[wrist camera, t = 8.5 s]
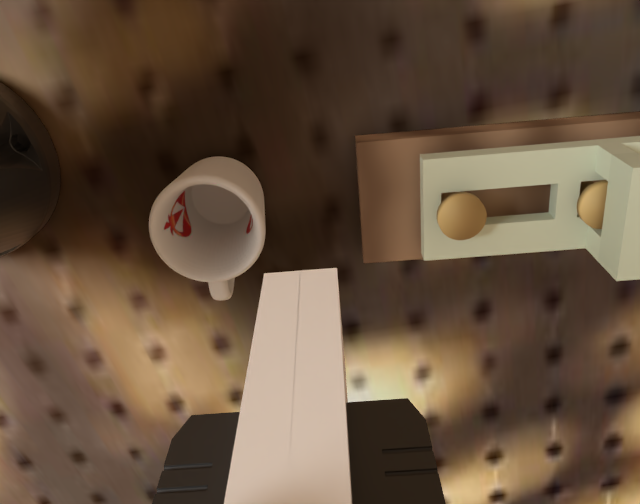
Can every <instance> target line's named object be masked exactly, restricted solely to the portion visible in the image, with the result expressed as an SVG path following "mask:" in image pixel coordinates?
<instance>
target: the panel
mask: <svg viewBox="0 0 640 504" xmlns="http://www.w3.org/2000/svg"><path fill="white" fill-rule="evenodd" d="M595 180H607V181H608V186H607V194H606V202H605V209H604V217H603V225H602V229H595V228H592V227H590V226H588V225H587V224H586V223H585V222H584V221H583V220H582V219H581V218H580V217H579V215H578V213H577V201H578V198H579V194H580V185H581V182H583V181H595ZM546 184H551V189H550V201H549V212H545V213H533V214H520V215H508V216H495V217H487V218H486V223H485V225H484V227H483V229H482V230H481V231H480V232H479V233H478V234H477V235H475V236H474V237H472V238H470V239H466V240H454V239H451V238H449V237H447V236H446V235H445V234H444V233H443V232H442V231H441V229H440V227H439V225H438V222H437V210H438V207H439V205H440V204H441V193H448V192H460V191H472V190H484V189H497V188H509V187H521V186H533V185H546ZM420 202H421V254H422V256H423V259H424V261H428V260H441V259H454V258H467V257H480V256H492V255H505V254H518V253H531V252H544V251H557V250H570V249H583V248H586V249H587V250H588V251H589V252H590V254H591V255H592V256H593V257H594V258H595V259H596V260H597V261H598V262H599V263H600V264H601V265H602V266H603V267H604V268H605V270H606V271H607V272H608V273H609V274H610V275H611V276H612V277H613V278H614V279H615V280H616V281H624V280H638V279H640V136H631V137H620V138H608V139H596V140H584V141H572V142H560V143H548V144H536V145H524V146H512V147H500V148H489V149H477V150H465V151H453V152H441V153H429V154H420Z"/></svg>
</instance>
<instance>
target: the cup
mask: <svg viewBox="0 0 640 504" xmlns="http://www.w3.org/2000/svg"><path fill="white" fill-rule="evenodd" d="M149 234H150V238H151V241H152V244H153V246H154V248H155V250H156V252H157V253H158V255H159V256H160V258H161V259H162V260H163V261H164V262H165V263H166V264H167V265H168V266H169V267H170V268H171V269H173V270H174V271H176V272H177V273H179V274H181V275H183V276H185V277H187V278H190V279H193V280H196V281H202V282H208V285H209V290H210V293H211V296H212V298H213V299H215V300H221V301H222V300H228V299H230V298H231V296H232V294H233V289H234V281H235V277H237V276H239V275H241V274H242V273H244V272H245V271H247V270H248V269H249V268H250V267H251V266H252V265H253V264H254V263H255V262H256V260H257V259H258V257H259V255H260V253H261V251H262V249H263V246H264V241H265V234H266V229H265V206H264V194H263V190H262V187H261V184H260V182H259V180H258V178H257V177H256V175H255V174H254V173H253V172H252V170H251V169H249V168H248V167H247V166H246V165H245V164H243V163H241V162H239V161H237V160H235V159H232V158H229V157H221V156H216V157H209V158H205V159H202V160H200V161H198V162H196V163H194V164H193V165H191V166H190V167H189V168H188V169H186V170H185V171H184V172H183V173H182V174H181V175H179V176H178V177H177V178H176V179H175V180H174V181H173V182H171V183H170V184H169V185H168V186H167V187H166V188H164V189H163V190H162V192H161V193H160V194H159V195H158V197H157V198H156V200H155V201H154V203H153V206H152V208H151V211H150V216H149Z"/></svg>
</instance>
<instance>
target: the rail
mask: <svg viewBox="0 0 640 504" xmlns="http://www.w3.org/2000/svg"><path fill="white" fill-rule="evenodd" d="M631 136H640V111H639V112H628V113H616V114H604V115H592V116H581V117H569V118H557V119H546V120H534V121H522V122H511V123H499V124H487V125H475V126H464V127H452V128H440V129H429V130H417V131H405V132H393V133H382V134H370V135H358V136H355V143H356V159H357V175H358V191H359V207H360V223H361V239H362V254H363V261H364V263H376V262H389V261H402V260H414V259H423V256H422V254H421V202H420V154H429V153H441V152H453V151H465V150H477V149H489V148H500V147H512V146H524V145H536V144H548V143H560V142H572V141H584V140H596V139H608V138H620V137H631ZM607 186H608V181H607V180H595V181H583V182H581V185H580V194H579V198H578V201H577V213H578V215H579V217H580V218H581V219H582V220H583V221H584V222H585V223H586V224H587V225H588V226H590V227H592V228H595V229H602V225H603V217H604V209H605V202H606V194H607ZM550 189H551V184H546V185H533V186H521V187H509V188H497V189H484V190H472V191H460V192H448V193H441V204H440V205H439V207H438V210H437V222H438V225H439V227H440V229H441V231H442V232H443V233H444V234H445V235H446V236H447V237H449V238H451V239H454V240H466V239H470V238H472V237H474V236H475V235H477V234H478V233H479V232H480V231H481V230H482V229H483V227H484V225H485V223H486V218H487V217H495V216H508V215H520V214H533V213H545V212H549V201H550Z"/></svg>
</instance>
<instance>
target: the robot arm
mask: <svg viewBox="0 0 640 504" xmlns="http://www.w3.org/2000/svg"><path fill="white" fill-rule="evenodd" d="M59 192H60V167H59V161H58V157H57V154H56V151H55V147H54V145H53V143H52V140H51V138H50V136H49V134H48V132H47V130H46V129H45V127H44V125H43V124H42V122H41V121H40V119H39V118H38V117H37V115H36V114H35V113H34V111H33V110H32V109H31V108H30V107H29V106H28V105H27V104H26V103H25V102H24V101H23V100H22V99H21V98H20V97H19V96H18V95H17V94H16V93H14V92H13V91H12V90H11V89H9V88H8V87H7V86H5V85H4V84H2V83H1V82H0V257H1V256H4V255H6V254H8V253H11V252H12V251H14V250H16V249H18V248H20V247H21V246H23V245H24V244H25V243H26V242H28V241H29V240H30V239H31V238H32V237H33V236H34V235H35V234H36V233H37V232H39V231H40V230H41V229H42V228H43V226H44V225H45V224H46V223H47V221H48V220H49V219H50V217H51V215H52V213H53V211H54V209H55V207H56V204H57V201H58V197H59ZM152 504H445V500H444V495H443V491H442V487H441V483H440V478H439V474H438V472H437V466H436V461H435V457H434V453H433V451H432V444H431V440H430V436H429V432H428V427H427V423H426V420H425V418H424V417H423V416H422V415H421V414H420V412H419V411H418V410H417V409H416V408H415V407H414V405H413V404H412V403H411V402H410V401H409V400H408V398H407V399H392V400H378V401H363V402H349V403H348V401H347V386H346V372H345V359H344V347H343V335H342V323H341V310H340V298H339V286H338V274H337V268H327V269H314V270H301V271H288V272H275V273H264V277H263V283H262V289H261V295H260V300H259V306H258V312H257V317H256V323H255V329H254V334H253V340H252V346H251V352H250V357H249V363H248V369H247V374H246V380H245V386H244V391H243V397H242V403H241V409H240V412H233V413H218V414H204V415H192V416H191V417H190V418H189V419H188V420H187V422H186V423H185V424H184V425H183V426H182V428H181V429H180V430H179V431H178V432H177V434H176V435H175V436H174V437H173V439H172V441H171V444H170V448H169V451H168V454H167V457H166V460H165V464H164V471H162V473H161V477H160V480H159V483H158V486H157V494H155V496H154V499H153V503H152Z"/></svg>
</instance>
